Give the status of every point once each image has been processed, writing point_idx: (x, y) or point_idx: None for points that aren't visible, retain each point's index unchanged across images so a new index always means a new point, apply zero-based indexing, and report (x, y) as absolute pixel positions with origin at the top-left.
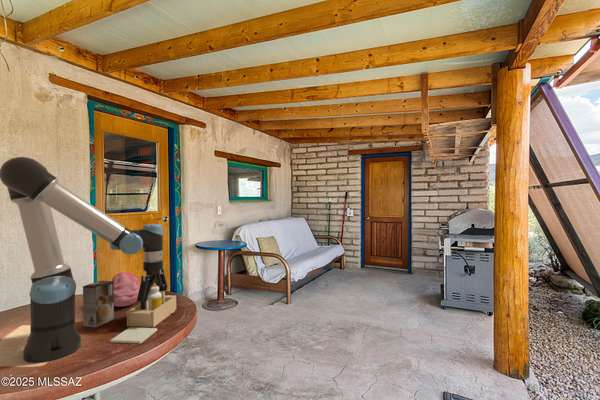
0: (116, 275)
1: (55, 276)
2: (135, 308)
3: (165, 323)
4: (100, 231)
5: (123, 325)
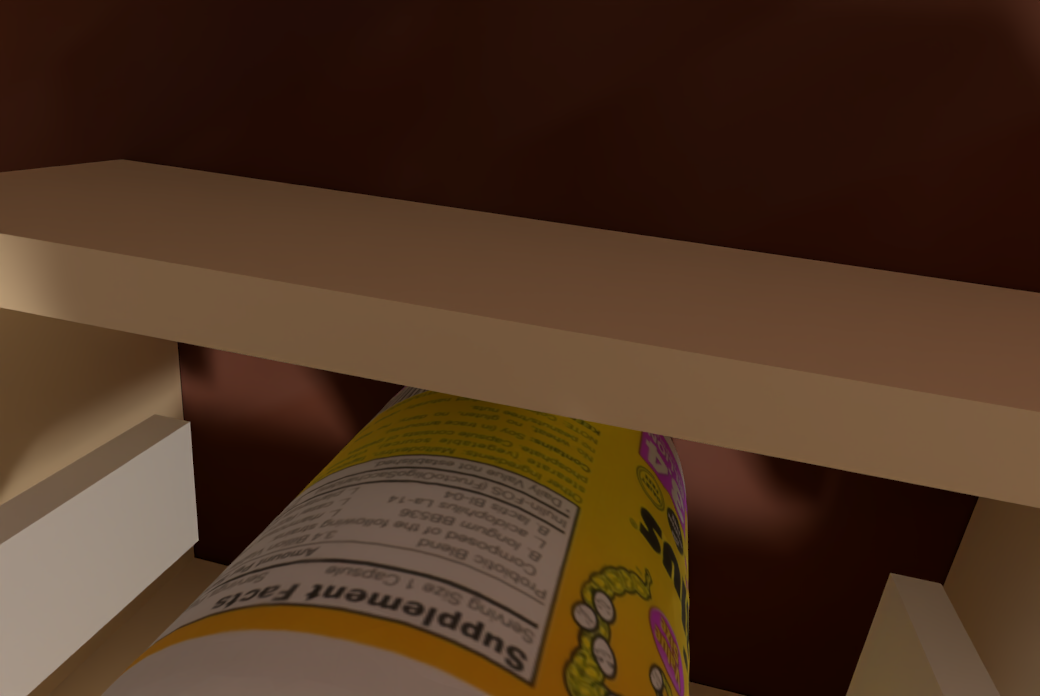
0: None
1: None
2: (82, 312)
3: None
4: None
5: (141, 68)
